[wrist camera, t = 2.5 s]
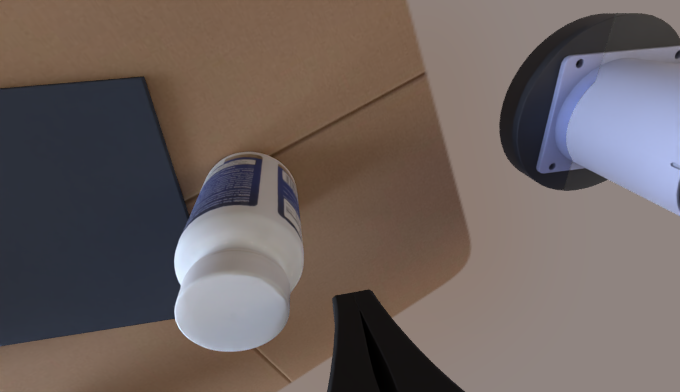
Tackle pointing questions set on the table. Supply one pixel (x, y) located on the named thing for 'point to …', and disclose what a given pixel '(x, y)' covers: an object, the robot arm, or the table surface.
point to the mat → (85, 210)
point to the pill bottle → (239, 255)
